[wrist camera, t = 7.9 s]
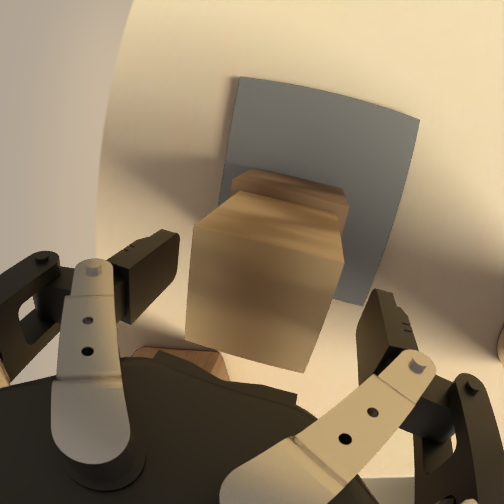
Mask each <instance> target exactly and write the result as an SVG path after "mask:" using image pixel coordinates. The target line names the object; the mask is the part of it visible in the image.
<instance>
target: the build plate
mask: <svg viewBox="0 0 504 504" xmlns="http://www.w3.org/2000/svg"><path fill="white" fill-rule="evenodd" d="M419 123H420V120H419V119H416V118H414V117H411V116H408V115H405V114H402V113H400V112H397V111H394V110H391V109H388V108H384V107H381V106H378V105H375V104H371V103H368V102H365V101H361V100H358V99H354V98H350V97H346V96H342V95H339V94H334V93H330V92H326V91H322V90H317V89H313V88H308V87H303V86H298V85H293V84H287V83H281V82H275V81H269V80H262V79H255V78H247V77H240V80H239V85H238V90H237V96H236V101H235V107H234V112H233V118H232V123H231V129H230V135H229V141H228V147H227V153H226V159H225V165H224V171H223V178H222V184H221V191H220V197H219V204H218V207H219V206H220V205H221V204H223V203H224V202H225V201H227V200H228V199H229V198H230V192H231V186H232V180H233V179H234V178H236V177H237V176H239V175H241V174H243V173H245V172H247V171H248V170H250V169H252V168H257V169H262V170H267V171H271V172H276V173H280V174H285V175H289V176H293V177H297V178H302V179H306V180H310V181H314V182H318V183H322V184H326V185H330V186H333V187H337V188H341V189H343V191H344V194H345V196H346V199H347V202H348V205H349V210H348V214H347V217H346V221H345V224H344V228H343V231H342V235H341V242H342V249H343V256H344V266H343V269H342V272H341V275H340V278H339V281H338V284H337V287H336V290H335V293H334V296H333V298H332V299H336V300H340V301H344V302H348V303H352V304H356V305H360V306H363V304H364V302H365V299H366V297H367V294H368V292H369V289H370V287H371V284H372V282H373V279H374V277H375V274H376V271H377V269H378V266H379V263H380V260H381V258H382V255H383V252H384V249H385V246H386V243H387V240H388V237H389V234H390V231H391V228H392V225H393V222H394V219H395V216H396V213H397V209H398V206H399V203H400V199H401V196H402V192H403V189H404V185H405V181H406V178H407V174H408V170H409V166H410V162H411V158H412V154H413V150H414V146H415V141H416V137H417V132H418V128H419Z"/></svg>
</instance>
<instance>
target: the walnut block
mask: <svg viewBox="0 0 504 504" xmlns="http://www.w3.org/2000/svg"><path fill="white" fill-rule="evenodd" d="M239 191H244V192H249V193H253V194H258V195H262V196H267V197H271V198H276V199H280V200H284V201H288V202H293V203H297V204H301V205H305V206H309V207H313V208H317V209H321V210H325V211H329V212H333V213H337V218H338V224H339V230H340V236H341V235H342V231H343V228H344V224H345V221H346V217H347V214H348V210H349V205H348V202H347V199H346V196H345V194H344V191H343V189H341V188H337V187H333V186H330V185H326V184H322V183H318V182H314V181H310V180H306V179H302V178H297V177H293V176H289V175H285V174H280V173H276V172H271V171H267V170H262V169H257V168H252V169H250V170H248V171H247V172H245V173H243V174H241V175H239V176H237V177H236V178H234V179H233V180H232V186H231V192H230V198H231V197H232V196H233V195H235V194H236V193H237V192H239Z"/></svg>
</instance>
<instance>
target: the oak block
mask: <svg viewBox="0 0 504 504" xmlns="http://www.w3.org/2000/svg"><path fill="white" fill-rule="evenodd" d="M343 266H344V256H343V249H342V242H341V236H340V230H339V224H338V218H337V213H333V212H329V211H325V210H321V209H317V208H313V207H309V206H305V205H301V204H297V203H293V202H288V201H284V200H280V199H276V198H271V197H267V196H262V195H258V194H253V193H249V192H244V191H239V192H237V193H236V194H235V195H233V196H232V197H231V198H229V199H228V200H227V201H225V202H224V203H223V204H221V205H220V206H219V207H217V208H216V209H215V210H213V211H212V212H211V213H209V214H208V215H207V216H205V217H204V218H203V219H202V220H200V221H199V222H198V223H196V224H195V225H194V228H193V238H192V248H191V259H190V270H189V282H188V295H187V309H186V325H185V340H186V341H189V342H192V343H195V344H199V345H202V346H205V347H208V348H211V349H214V350H218V351H221V352H224V353H228V354H231V355H234V356H238V357H241V358H245V359H248V360H252V361H256V362H259V363H263V364H267V365H271V366H275V367H279V368H283V369H287V370H291V371H295V372H299V373H304V371H305V369H306V366H307V364H308V362H309V359H310V357H311V354H312V352H313V349H314V347H315V344H316V342H317V339H318V336H319V334H320V331H321V329H322V326H323V323H324V321H325V318H326V315H327V312H328V310H329V307H330V304H331V301H332V298H333V296H334V293H335V290H336V287H337V284H338V281H339V278H340V275H341V272H342V269H343Z"/></svg>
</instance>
